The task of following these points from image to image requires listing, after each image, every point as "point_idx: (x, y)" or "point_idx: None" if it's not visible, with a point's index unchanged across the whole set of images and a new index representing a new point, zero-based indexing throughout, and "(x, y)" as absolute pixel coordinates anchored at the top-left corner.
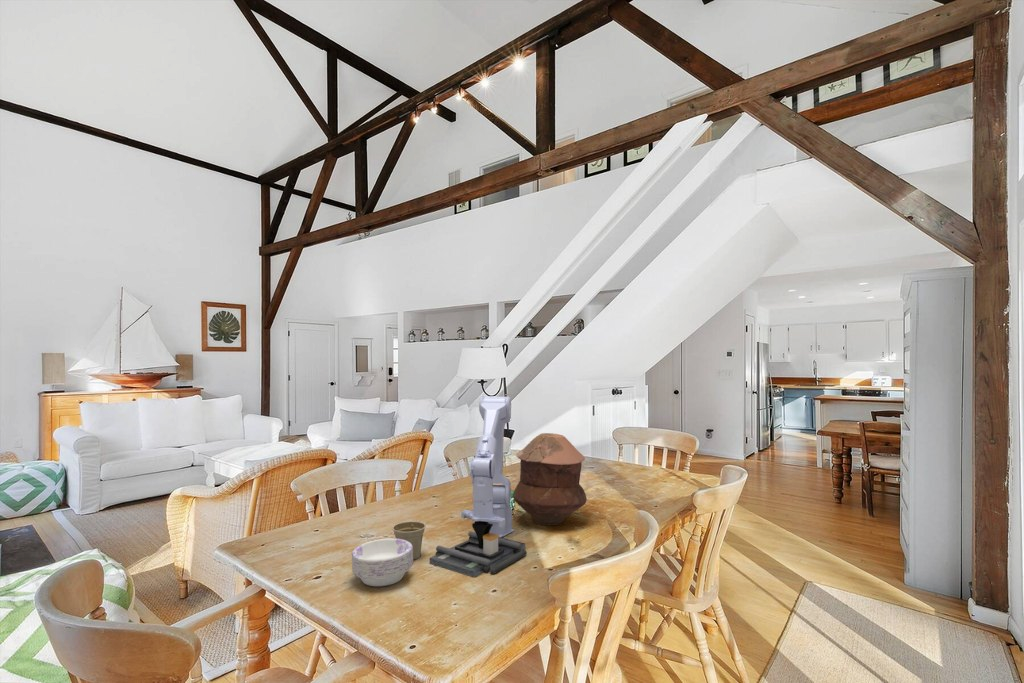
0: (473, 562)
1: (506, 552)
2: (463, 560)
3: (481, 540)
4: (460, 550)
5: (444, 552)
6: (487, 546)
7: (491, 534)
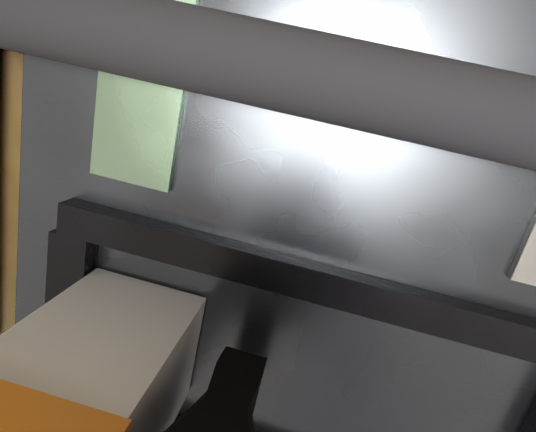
0: None
1: None
2: (338, 34)
3: (187, 410)
4: (508, 312)
5: None
6: (101, 329)
7: None
